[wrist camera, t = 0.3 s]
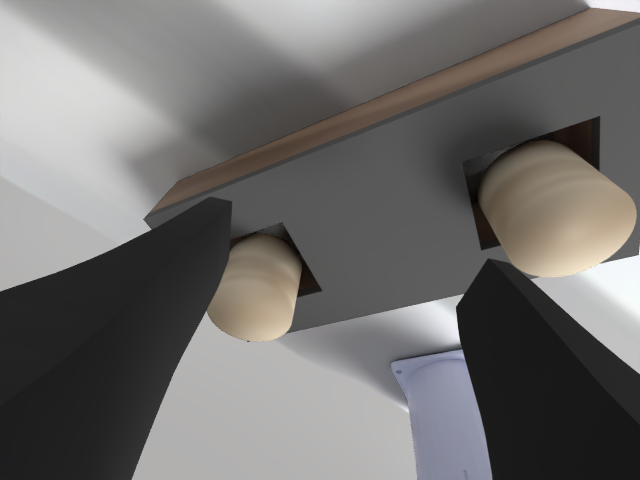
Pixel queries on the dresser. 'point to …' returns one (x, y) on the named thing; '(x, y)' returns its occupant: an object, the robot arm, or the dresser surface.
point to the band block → (430, 167)
